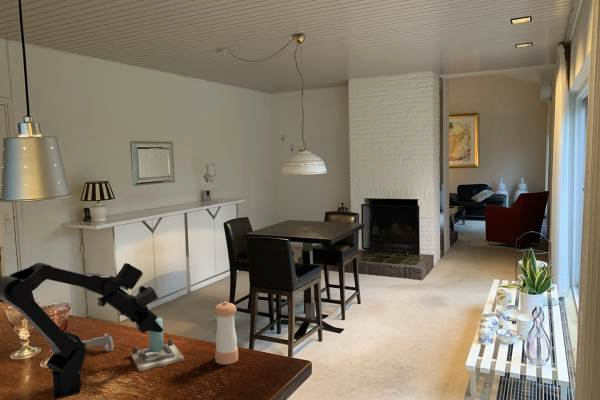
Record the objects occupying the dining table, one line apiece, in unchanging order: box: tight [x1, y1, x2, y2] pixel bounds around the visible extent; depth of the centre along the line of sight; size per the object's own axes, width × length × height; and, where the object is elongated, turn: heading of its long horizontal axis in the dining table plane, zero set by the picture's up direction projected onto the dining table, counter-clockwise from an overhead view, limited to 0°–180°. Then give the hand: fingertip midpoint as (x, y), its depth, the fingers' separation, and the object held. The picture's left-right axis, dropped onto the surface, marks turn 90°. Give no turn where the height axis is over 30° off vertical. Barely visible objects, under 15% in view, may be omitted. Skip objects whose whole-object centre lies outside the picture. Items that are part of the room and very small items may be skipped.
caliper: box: [81, 332, 114, 352], centre depth 159 cm, size 20×1×6 cm, turn 79°
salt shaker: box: [213, 300, 239, 365], centre depth 149 cm, size 7×7×19 cm
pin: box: [148, 316, 165, 352], centre depth 151 cm, size 4×4×10 cm
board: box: [130, 337, 185, 372], centre depth 152 cm, size 14×13×3 cm
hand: (159, 328), depth 152 cm, fingers open, 4 cm apart
